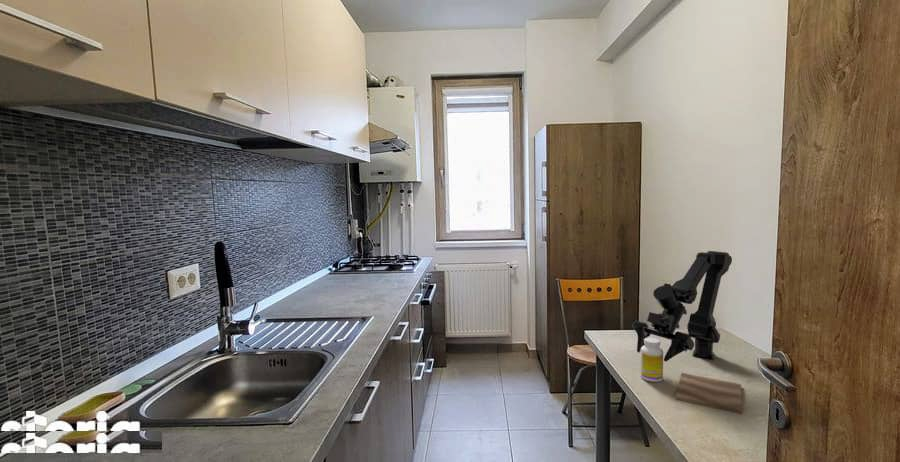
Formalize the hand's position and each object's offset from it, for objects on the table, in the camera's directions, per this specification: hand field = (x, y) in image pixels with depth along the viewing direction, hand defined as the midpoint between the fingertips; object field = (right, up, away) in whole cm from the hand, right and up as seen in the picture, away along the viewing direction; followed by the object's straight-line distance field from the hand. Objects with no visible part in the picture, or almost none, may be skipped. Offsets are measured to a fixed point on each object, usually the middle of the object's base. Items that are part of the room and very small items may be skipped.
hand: (650, 356), depth 134 cm
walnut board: (+13, -8, -10) cm, 18 cm away
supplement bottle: (+1, -8, +1) cm, 8 cm away
